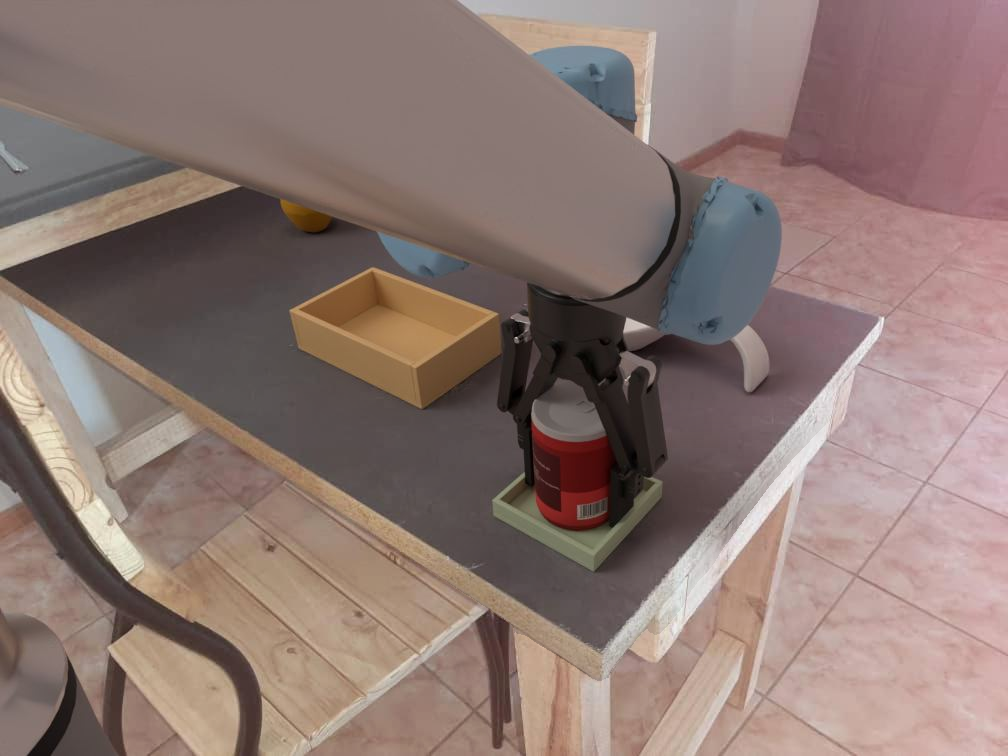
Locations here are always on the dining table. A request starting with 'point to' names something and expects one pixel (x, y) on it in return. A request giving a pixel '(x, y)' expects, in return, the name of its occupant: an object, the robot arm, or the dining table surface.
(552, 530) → the tray
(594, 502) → the canned food
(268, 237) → the dining table surface
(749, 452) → the dining table surface
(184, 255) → the dining table surface
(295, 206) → the apple
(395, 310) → the open wooden box
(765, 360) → the spoon rest
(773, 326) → the dining table surface
